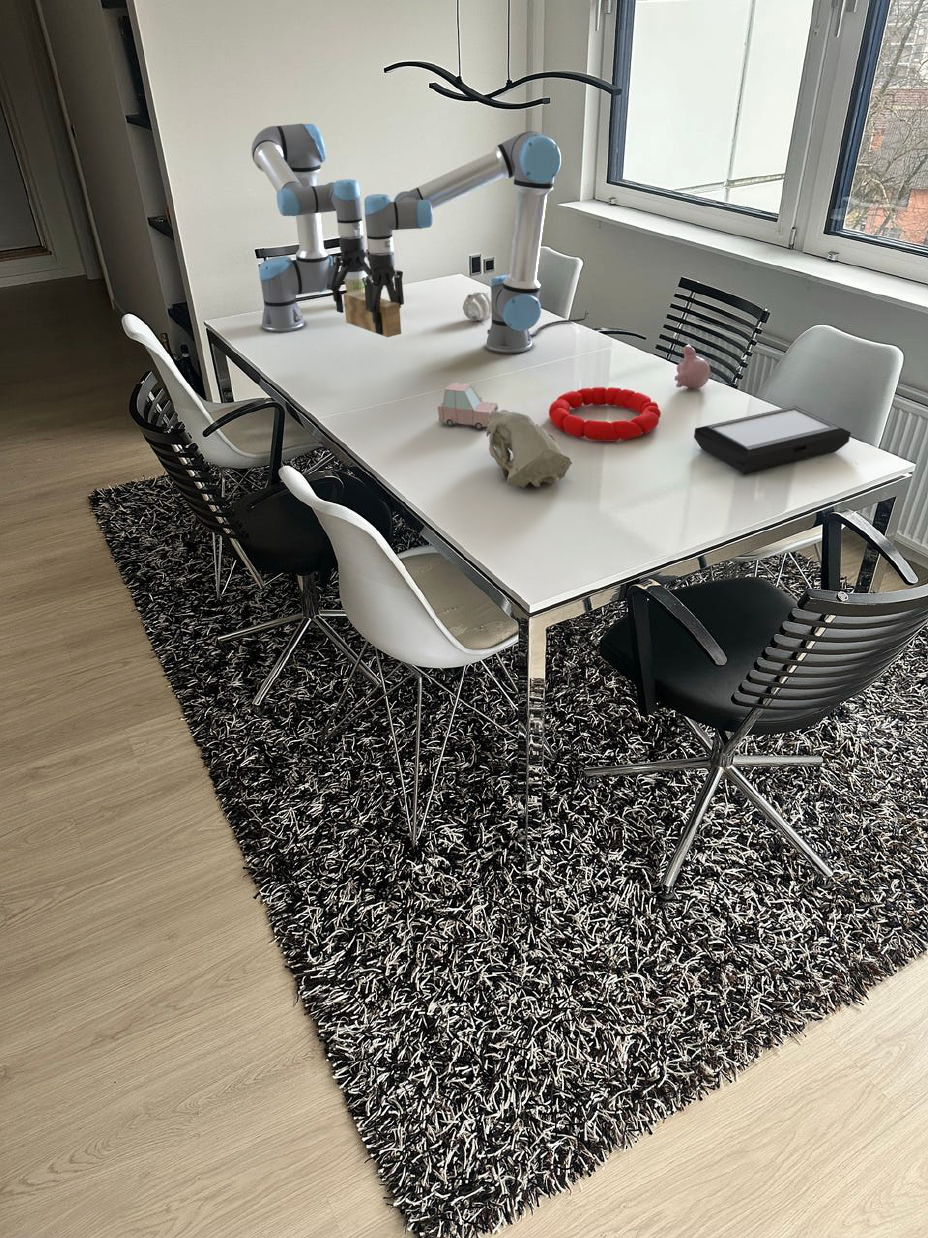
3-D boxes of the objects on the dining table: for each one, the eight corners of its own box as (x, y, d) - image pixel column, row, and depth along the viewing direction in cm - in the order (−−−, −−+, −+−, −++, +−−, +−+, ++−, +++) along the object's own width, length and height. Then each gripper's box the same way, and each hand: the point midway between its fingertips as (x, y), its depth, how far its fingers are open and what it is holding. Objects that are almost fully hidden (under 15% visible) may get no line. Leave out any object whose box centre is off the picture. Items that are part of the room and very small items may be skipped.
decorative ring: (589, 435, 224) (684, 402, 234) (527, 398, 247) (617, 369, 256) (589, 461, 229) (683, 427, 238) (529, 422, 251) (617, 393, 260)
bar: (346, 322, 287) (343, 293, 282) (359, 318, 290) (357, 290, 285) (387, 337, 273) (385, 307, 268) (401, 333, 275) (399, 303, 270)
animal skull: (496, 517, 219) (521, 479, 201) (463, 429, 225) (484, 384, 207) (557, 503, 225) (586, 465, 206) (523, 417, 231) (549, 373, 212)
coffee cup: (368, 306, 344) (365, 266, 336) (343, 307, 345) (339, 267, 336) (371, 300, 352) (368, 260, 344) (346, 300, 353) (342, 260, 344)
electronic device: (746, 454, 209) (695, 425, 224) (742, 478, 212) (692, 448, 228) (851, 429, 219) (795, 402, 234) (846, 452, 223) (791, 425, 238)
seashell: (455, 320, 326) (454, 292, 321) (490, 313, 332) (490, 286, 326) (468, 327, 319) (468, 298, 313) (504, 320, 325) (504, 292, 319)
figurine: (665, 387, 264) (669, 347, 257) (693, 380, 268) (698, 340, 261) (686, 396, 257) (690, 355, 250) (714, 388, 262) (720, 348, 255)
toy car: (488, 432, 240) (488, 396, 234) (436, 426, 244) (434, 390, 239) (499, 419, 247) (499, 384, 241) (448, 413, 252) (447, 379, 246)
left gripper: (323, 244, 262) (331, 317, 274) (391, 231, 275) (396, 302, 287) (309, 241, 267) (318, 313, 279) (377, 228, 280) (383, 297, 292)
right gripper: (362, 259, 256) (370, 340, 269) (413, 249, 265) (417, 327, 279) (348, 255, 261) (356, 335, 274) (398, 245, 270) (403, 322, 283)
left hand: (358, 307), depth 283 cm, fingers open, 13 cm apart
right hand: (387, 331), depth 276 cm, fingers closed on bar, 5 cm apart
